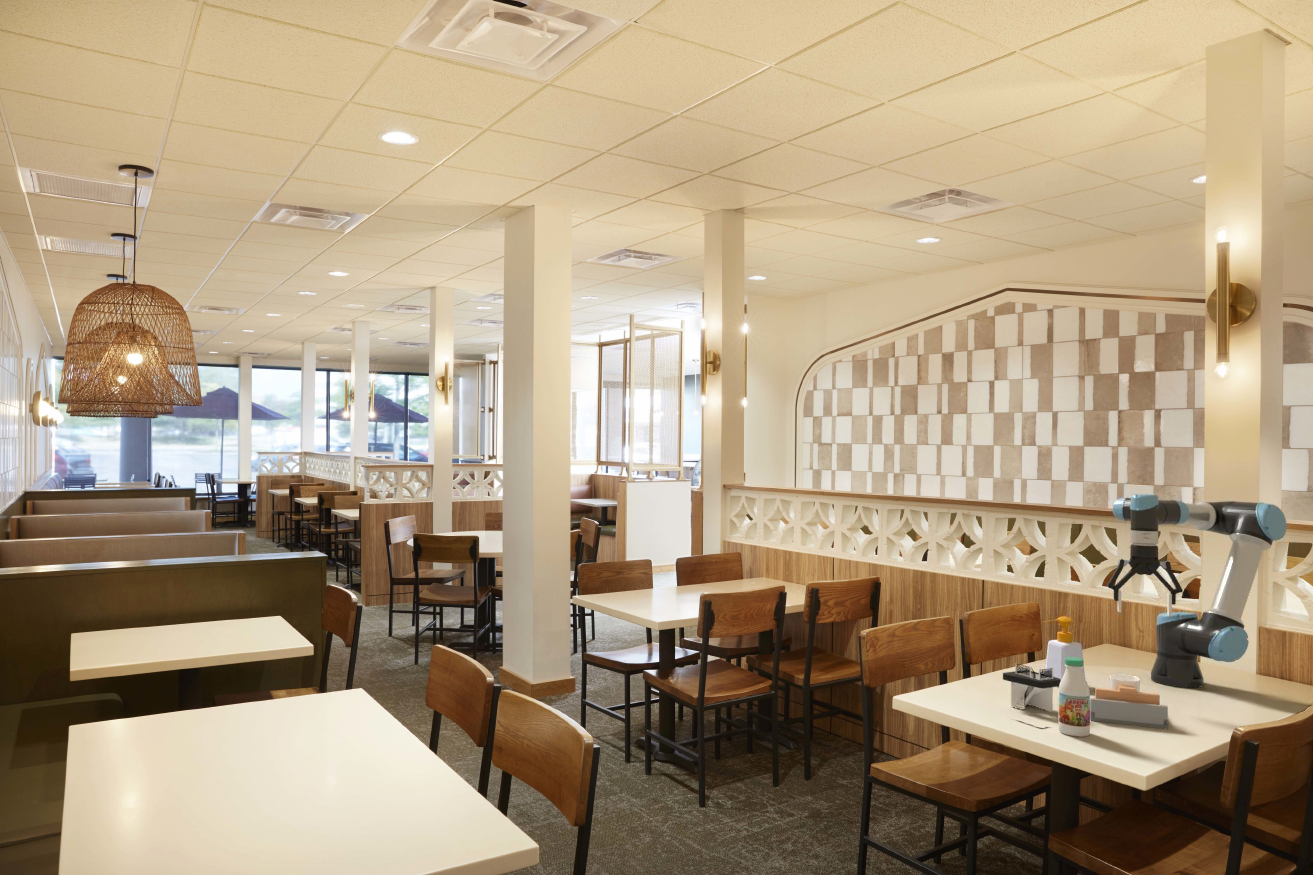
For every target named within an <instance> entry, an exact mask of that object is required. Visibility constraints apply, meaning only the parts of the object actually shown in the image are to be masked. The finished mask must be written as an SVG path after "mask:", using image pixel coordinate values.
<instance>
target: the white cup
mask: <svg viewBox="0 0 1313 875" xmlns="http://www.w3.org/2000/svg"><path fill="white" fill-rule="evenodd" d="M1118 685H1120V686H1131V687H1135V689H1136V692H1140V691H1141V679H1140V678H1139V677H1138V676H1135V675H1134V676H1133V675H1130V674H1110V675H1109V689H1111V690H1118Z"/></svg>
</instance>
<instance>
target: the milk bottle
mask: <svg viewBox="0 0 1313 875" xmlns="http://www.w3.org/2000/svg"><path fill="white" fill-rule="evenodd" d="M1084 663H1085V661H1084V658H1083V659H1080V658H1075V657H1067V658H1065V666H1066V670H1065V673H1064V676H1063V678H1062V680H1061V682H1060V685H1059V686H1058V704H1057V705H1058V706H1057V707H1058V711H1057V712H1058V716H1057V717H1058V719H1057V720H1058V721H1057V722H1058V723H1057V725H1058V726H1057V727H1058V731H1059V732H1060V733H1062V734H1064V735H1067V736H1072V737H1088V736H1089V735H1090V734H1091V719H1090V700H1091V696H1090V695H1091V694H1090V693H1091V692H1090V687H1089V684H1088V682H1087V680H1086V676H1085V677H1084V674H1083V668H1084V669H1085V664H1084ZM1083 665H1084V667H1083Z"/></svg>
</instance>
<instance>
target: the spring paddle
mask: <svg viewBox="0 0 1313 875" xmlns="http://www.w3.org/2000/svg"><path fill="white" fill-rule="evenodd" d="M1094 691H1095V692H1094V697H1095V698H1096V699H1106V700H1116V701H1126V702H1136V703H1146V704H1156V705H1161V703H1160V696H1161V695H1160V694H1159V693H1154V692H1153V693H1151V692H1142V691H1141V692H1136V689H1135V687H1131V686H1120V685H1118V690H1111V689H1110V688H1100V687H1099V688H1098V687H1095V689H1094Z"/></svg>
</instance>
